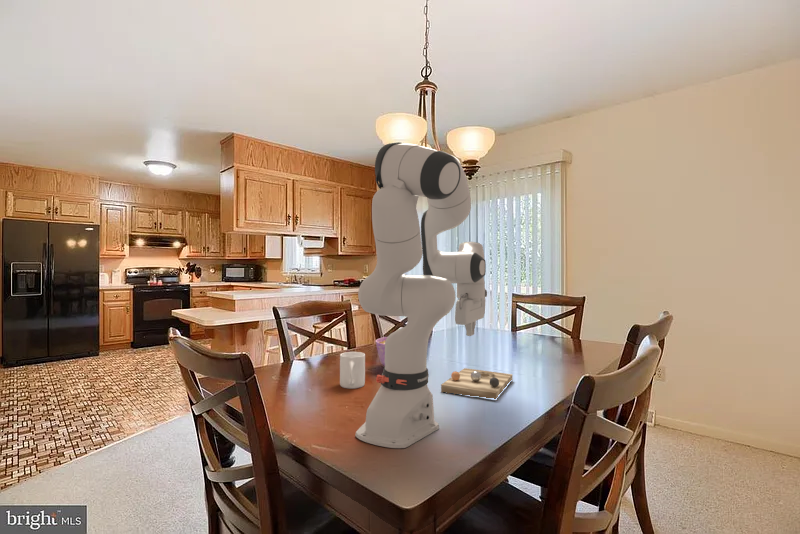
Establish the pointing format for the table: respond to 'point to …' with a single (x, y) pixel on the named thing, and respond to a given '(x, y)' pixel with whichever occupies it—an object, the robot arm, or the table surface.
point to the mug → (352, 370)
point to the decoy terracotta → (455, 375)
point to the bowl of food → (381, 349)
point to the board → (476, 384)
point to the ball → (475, 376)
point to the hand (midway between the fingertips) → (470, 335)
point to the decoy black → (494, 382)
